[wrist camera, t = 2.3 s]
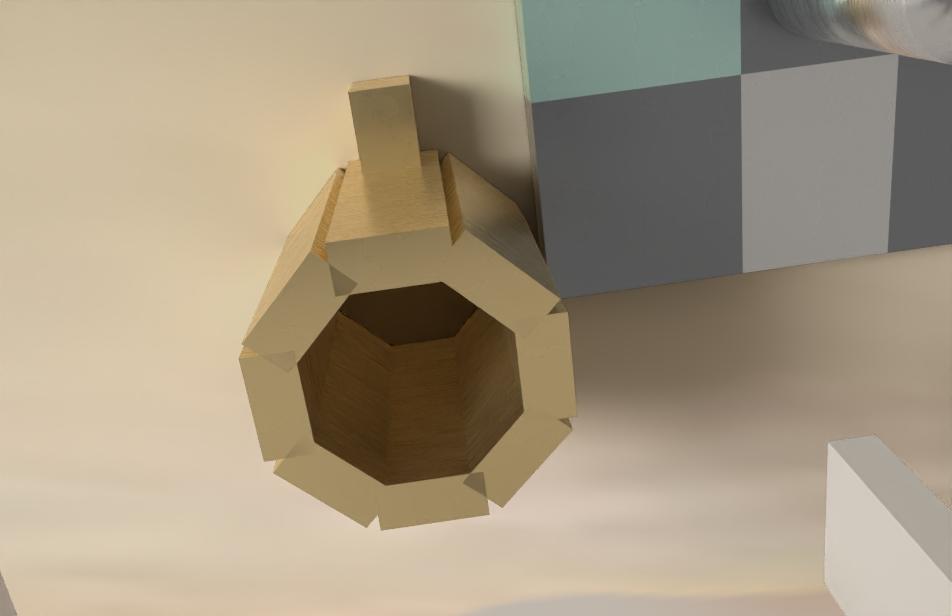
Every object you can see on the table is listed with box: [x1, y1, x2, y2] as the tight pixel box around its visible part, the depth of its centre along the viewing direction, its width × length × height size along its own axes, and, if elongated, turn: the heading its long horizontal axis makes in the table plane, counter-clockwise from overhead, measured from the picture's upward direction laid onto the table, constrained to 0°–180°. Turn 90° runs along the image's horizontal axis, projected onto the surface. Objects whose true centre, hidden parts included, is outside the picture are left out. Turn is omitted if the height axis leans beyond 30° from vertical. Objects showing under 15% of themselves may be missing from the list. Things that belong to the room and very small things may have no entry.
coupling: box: [239, 75, 577, 530], centre depth 23 cm, size 12×7×8 cm, turn 7°
